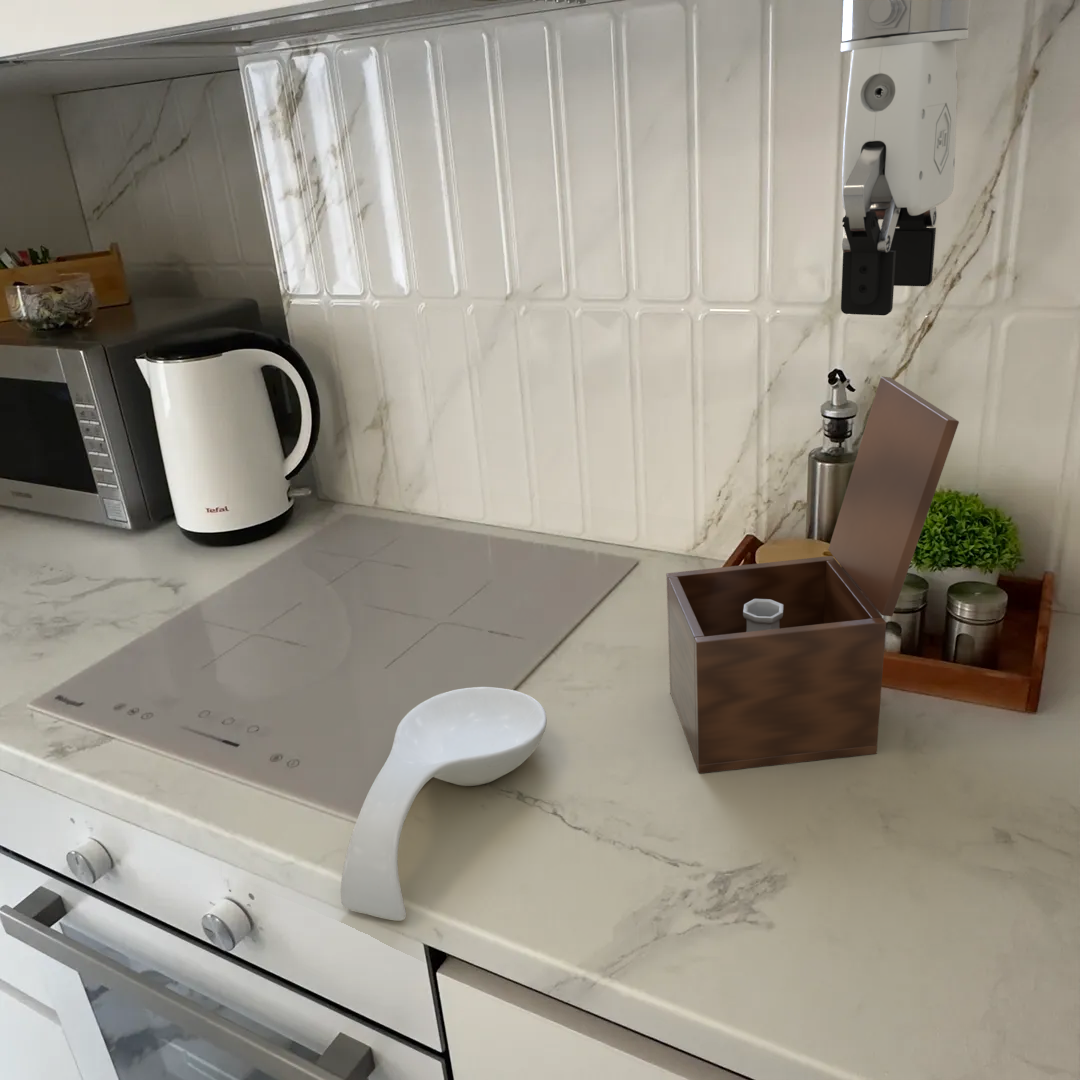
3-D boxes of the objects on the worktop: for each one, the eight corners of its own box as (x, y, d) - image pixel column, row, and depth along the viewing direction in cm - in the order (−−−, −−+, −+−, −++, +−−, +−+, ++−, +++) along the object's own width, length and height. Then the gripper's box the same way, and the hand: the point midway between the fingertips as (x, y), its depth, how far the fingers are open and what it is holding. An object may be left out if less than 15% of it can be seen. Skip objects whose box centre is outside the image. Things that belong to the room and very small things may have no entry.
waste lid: (948, 419, 65) (959, 421, 65) (880, 375, 76) (890, 377, 76) (881, 615, 71) (892, 617, 71) (827, 549, 82) (837, 550, 82)
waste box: (698, 773, 76) (696, 642, 71) (669, 691, 86) (666, 572, 82) (876, 753, 76) (886, 622, 71) (826, 674, 87) (832, 555, 82)
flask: (818, 701, 82) (823, 596, 78) (789, 749, 76) (792, 639, 72) (737, 681, 86) (737, 580, 81) (703, 725, 80) (702, 619, 76)
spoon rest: (442, 710, 87) (432, 640, 84) (568, 727, 83) (562, 654, 80) (299, 906, 67) (279, 823, 64) (457, 940, 63) (443, 853, 60)
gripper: (930, 10, 52) (909, 329, 59) (999, 14, 65) (974, 276, 72) (795, 27, 56) (789, 324, 63) (884, 28, 69) (871, 275, 76)
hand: (888, 298), depth 68 cm, fingers open, 9 cm apart
